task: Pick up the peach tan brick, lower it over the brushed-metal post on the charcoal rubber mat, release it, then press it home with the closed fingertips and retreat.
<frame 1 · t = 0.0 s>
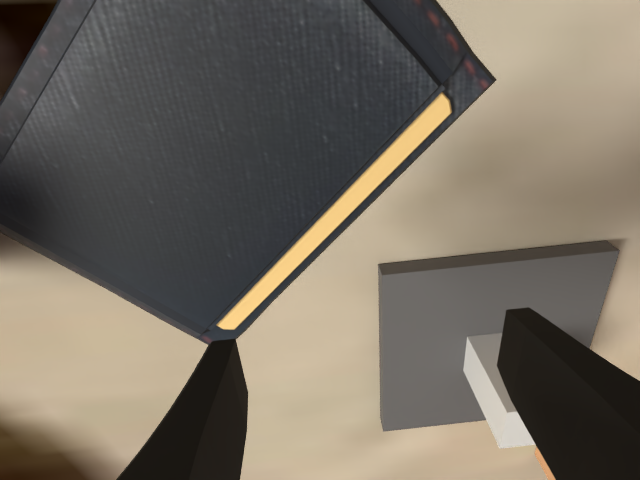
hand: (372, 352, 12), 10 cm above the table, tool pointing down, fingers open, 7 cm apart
post board: (481, 339, 26), on the table
dark grey book: (218, 135, 20), on the table
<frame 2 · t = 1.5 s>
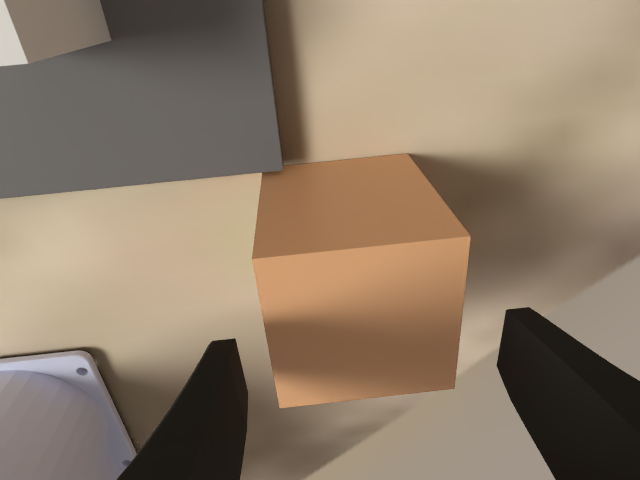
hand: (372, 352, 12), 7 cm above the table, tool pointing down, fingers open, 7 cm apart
peach tan brick: (339, 224, 18), on the table
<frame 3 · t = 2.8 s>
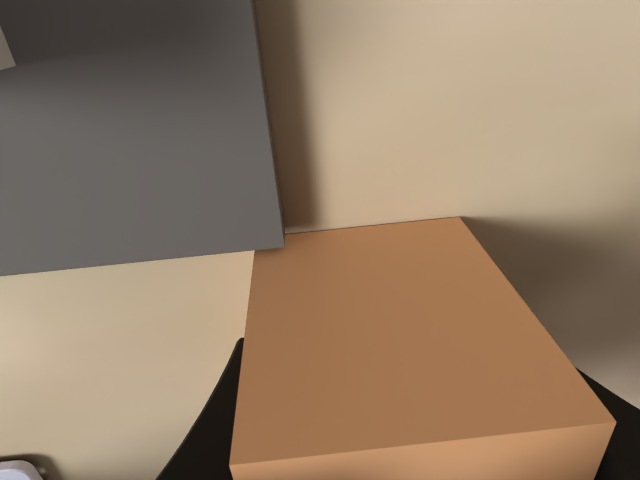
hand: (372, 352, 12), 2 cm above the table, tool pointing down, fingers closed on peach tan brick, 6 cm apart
peach tan brick: (361, 307, 13), on the table, touching gripper
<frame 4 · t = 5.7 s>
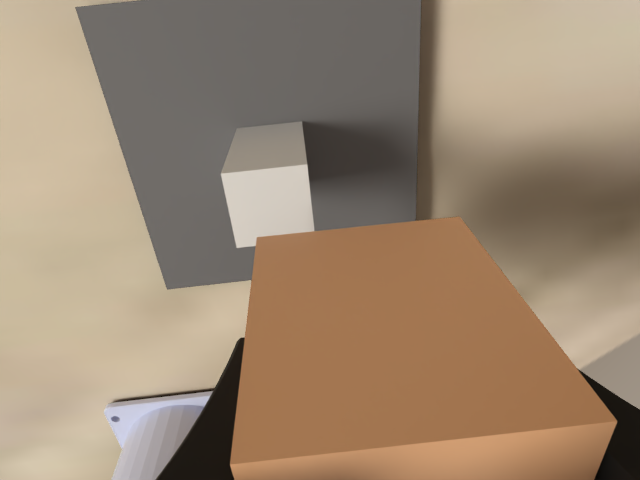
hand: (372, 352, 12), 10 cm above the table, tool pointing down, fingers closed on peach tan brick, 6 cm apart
post board: (274, 148, 19), on the table
peach tan brick: (361, 307, 13), point 8 cm above the table, touching gripper
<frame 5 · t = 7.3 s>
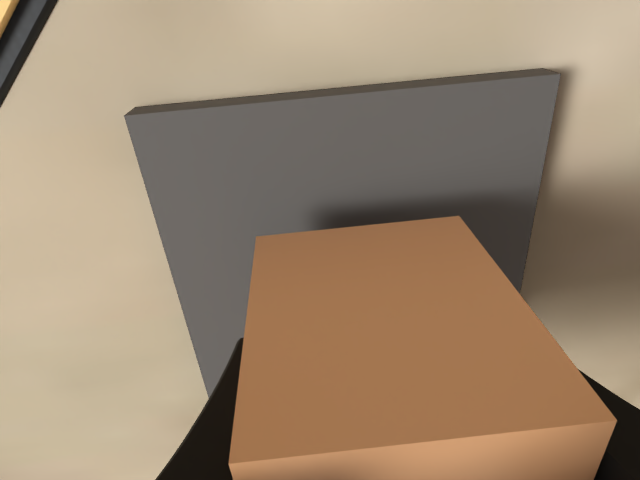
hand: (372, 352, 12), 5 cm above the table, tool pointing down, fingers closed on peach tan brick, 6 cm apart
post board: (349, 259, 16), on the table
peach tan brick: (361, 306, 13), point 3 cm above the table, touching gripper
when the fingers open (4 cm above the table, at t = 8.5 s): peach tan brick stays where it is, resting on post board.
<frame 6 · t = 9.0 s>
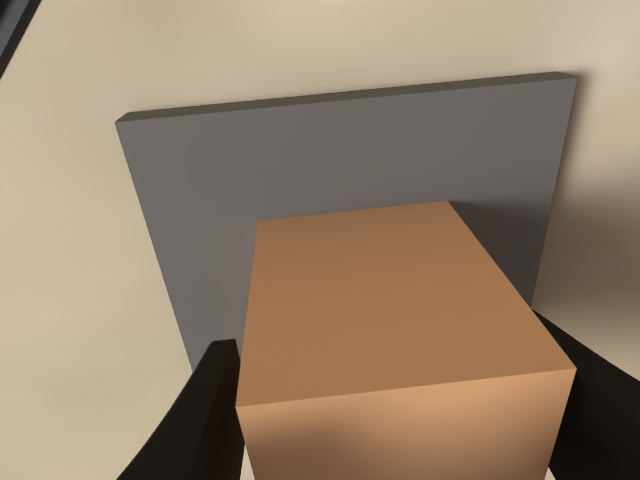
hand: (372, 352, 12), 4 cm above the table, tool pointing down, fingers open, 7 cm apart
post board: (352, 271, 15), on the table
peach tan brick: (357, 287, 14), point 1 cm above the table, touching post board
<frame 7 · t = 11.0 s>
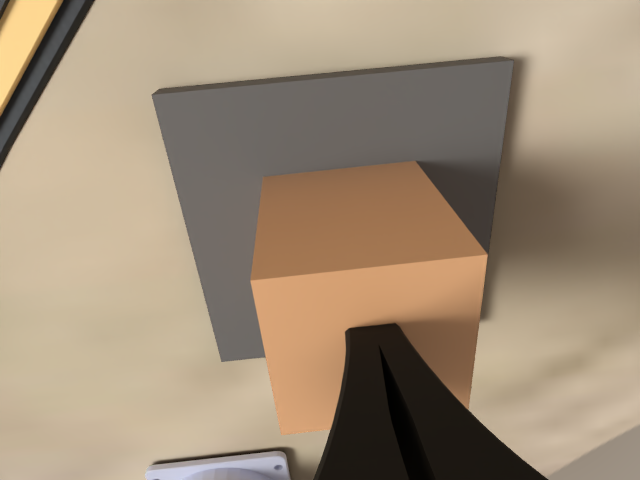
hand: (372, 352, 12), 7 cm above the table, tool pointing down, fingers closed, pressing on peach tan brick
post board: (340, 224, 18), on the table
peach tan brick: (343, 235, 17), point 1 cm above the table, touching gripper, post board
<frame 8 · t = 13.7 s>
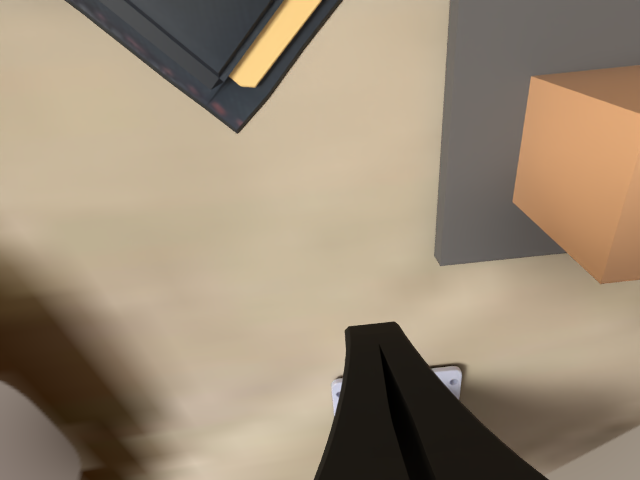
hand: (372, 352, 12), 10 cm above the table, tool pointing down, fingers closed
post board: (571, 131, 20), on the table
peach tan brick: (584, 136, 19), point 1 cm above the table, touching post board
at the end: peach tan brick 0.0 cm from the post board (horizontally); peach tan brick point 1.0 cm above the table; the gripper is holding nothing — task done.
